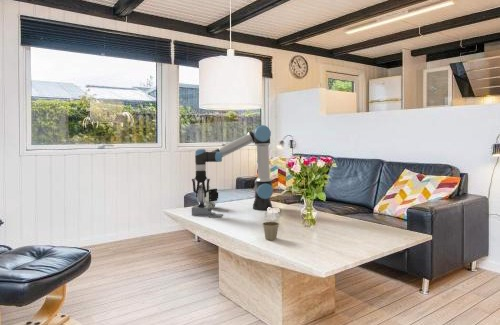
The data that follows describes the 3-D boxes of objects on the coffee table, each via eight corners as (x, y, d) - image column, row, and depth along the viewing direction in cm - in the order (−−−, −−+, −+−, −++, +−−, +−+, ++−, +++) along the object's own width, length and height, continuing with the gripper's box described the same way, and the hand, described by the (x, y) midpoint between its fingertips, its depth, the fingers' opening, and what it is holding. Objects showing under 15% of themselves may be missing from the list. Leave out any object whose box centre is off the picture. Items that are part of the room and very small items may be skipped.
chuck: (211, 212, 275) (211, 204, 274) (208, 215, 263) (207, 208, 262) (195, 211, 276) (195, 204, 275) (191, 215, 264) (191, 208, 263)
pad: (223, 214, 266) (223, 213, 266) (221, 217, 257) (221, 216, 257) (211, 214, 266) (211, 213, 266) (208, 217, 257) (208, 216, 257)
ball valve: (220, 209, 285) (220, 186, 284) (211, 210, 280) (210, 187, 279) (208, 205, 299) (208, 184, 298) (199, 206, 294) (199, 185, 293)
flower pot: (282, 238, 203) (282, 223, 203) (272, 242, 196) (272, 226, 196) (269, 235, 210) (269, 220, 209) (259, 239, 203) (258, 223, 202)
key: (205, 206, 274) (204, 184, 272) (202, 209, 264) (201, 185, 262) (200, 206, 274) (200, 184, 272) (197, 209, 264) (197, 185, 263)
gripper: (212, 169, 270) (213, 200, 271) (190, 169, 271) (191, 200, 273) (210, 170, 262) (211, 202, 264) (188, 170, 264) (188, 202, 265)
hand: (201, 201), depth 268 cm, fingers closed on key, 3 cm apart
